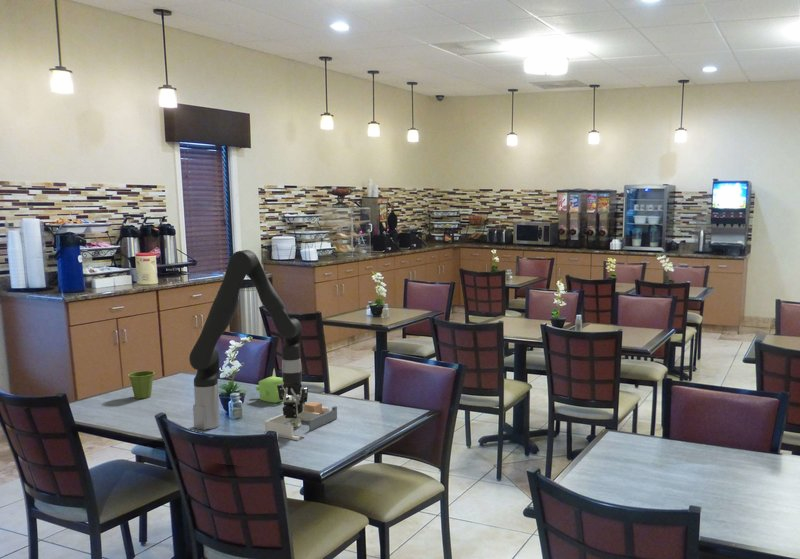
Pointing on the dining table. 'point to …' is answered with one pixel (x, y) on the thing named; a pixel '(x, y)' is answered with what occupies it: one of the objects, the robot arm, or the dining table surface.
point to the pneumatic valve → (292, 411)
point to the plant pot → (142, 383)
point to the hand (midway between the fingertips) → (293, 411)
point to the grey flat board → (323, 419)
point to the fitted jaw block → (314, 407)
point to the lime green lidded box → (269, 389)
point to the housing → (287, 430)
